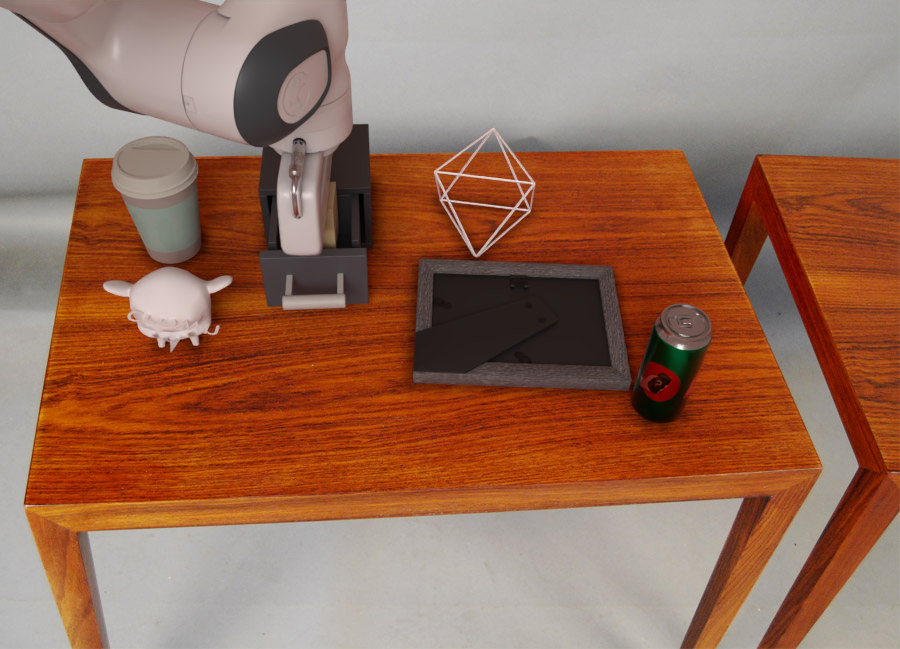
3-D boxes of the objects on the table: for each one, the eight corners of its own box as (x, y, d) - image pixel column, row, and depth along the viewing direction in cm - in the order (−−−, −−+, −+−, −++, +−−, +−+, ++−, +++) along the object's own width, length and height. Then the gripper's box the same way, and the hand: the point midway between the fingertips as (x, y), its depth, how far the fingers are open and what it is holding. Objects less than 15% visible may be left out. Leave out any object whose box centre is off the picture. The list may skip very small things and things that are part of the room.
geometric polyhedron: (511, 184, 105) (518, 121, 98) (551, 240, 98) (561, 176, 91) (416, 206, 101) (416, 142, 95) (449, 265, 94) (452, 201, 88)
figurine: (128, 323, 89) (105, 372, 80) (114, 248, 85) (88, 292, 76) (246, 317, 90) (235, 365, 82) (237, 244, 86) (225, 286, 78)
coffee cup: (230, 239, 96) (212, 151, 87) (175, 283, 91) (150, 194, 82) (174, 211, 99) (151, 123, 90) (117, 252, 94) (88, 163, 85)
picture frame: (413, 383, 83) (628, 390, 83) (413, 369, 82) (632, 377, 82) (419, 268, 94) (609, 276, 94) (419, 255, 92) (612, 263, 93)
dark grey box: (372, 248, 96) (370, 187, 90) (267, 251, 95) (258, 189, 89) (370, 183, 104) (368, 123, 97) (273, 185, 103) (265, 125, 96)
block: (292, 255, 87) (287, 209, 83) (296, 226, 90) (291, 180, 86) (336, 255, 87) (332, 209, 83) (338, 227, 90) (335, 181, 86)
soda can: (687, 427, 81) (722, 343, 72) (634, 426, 81) (662, 342, 72) (676, 385, 84) (709, 300, 75) (625, 384, 84) (652, 299, 75)
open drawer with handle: (369, 334, 86) (367, 286, 81) (264, 338, 85) (256, 289, 80) (367, 236, 96) (365, 188, 91) (273, 238, 95) (265, 190, 90)
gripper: (330, 182, 70) (339, 300, 80) (344, 52, 84) (350, 167, 94) (253, 181, 70) (272, 299, 80) (279, 51, 84) (292, 166, 94)
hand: (314, 226), depth 87 cm, fingers closed on block, 4 cm apart
